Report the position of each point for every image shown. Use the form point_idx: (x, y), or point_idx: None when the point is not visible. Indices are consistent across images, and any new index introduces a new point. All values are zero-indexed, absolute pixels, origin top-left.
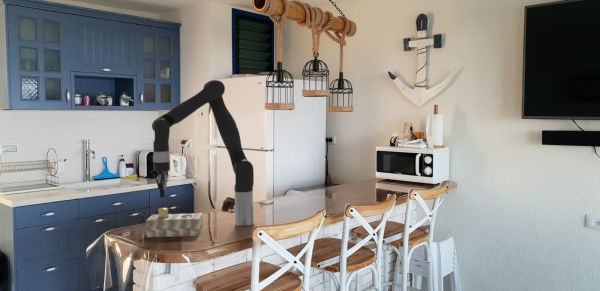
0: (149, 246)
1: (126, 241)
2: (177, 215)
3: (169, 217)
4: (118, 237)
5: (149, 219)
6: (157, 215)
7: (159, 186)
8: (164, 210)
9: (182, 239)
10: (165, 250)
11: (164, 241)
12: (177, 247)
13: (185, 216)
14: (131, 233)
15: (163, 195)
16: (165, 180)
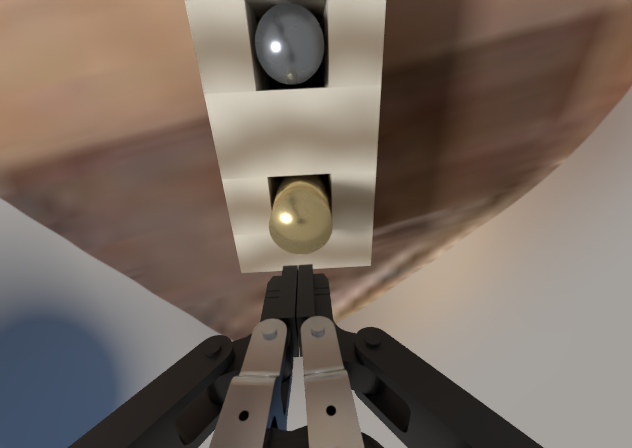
0: (496, 177)
1: (401, 272)
2: (261, 127)
3: (318, 165)
4: (345, 309)
5: (355, 256)
6: (261, 245)
7: (378, 392)
8: (327, 209)
9: (422, 52)
10: (586, 92)
11: (437, 136)
12: (563, 42)
13: (286, 57)
14: None
15: (322, 279)
16: (314, 445)
